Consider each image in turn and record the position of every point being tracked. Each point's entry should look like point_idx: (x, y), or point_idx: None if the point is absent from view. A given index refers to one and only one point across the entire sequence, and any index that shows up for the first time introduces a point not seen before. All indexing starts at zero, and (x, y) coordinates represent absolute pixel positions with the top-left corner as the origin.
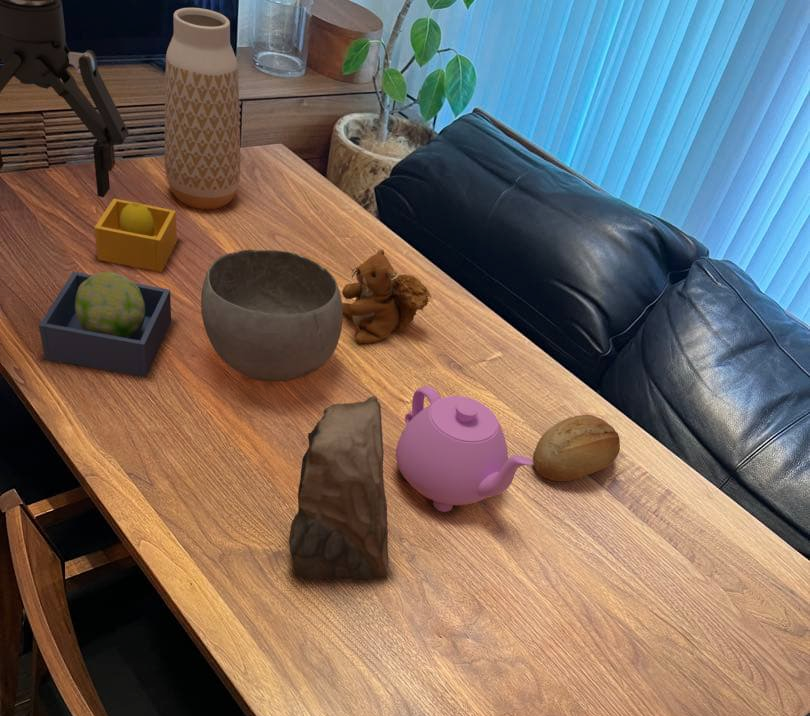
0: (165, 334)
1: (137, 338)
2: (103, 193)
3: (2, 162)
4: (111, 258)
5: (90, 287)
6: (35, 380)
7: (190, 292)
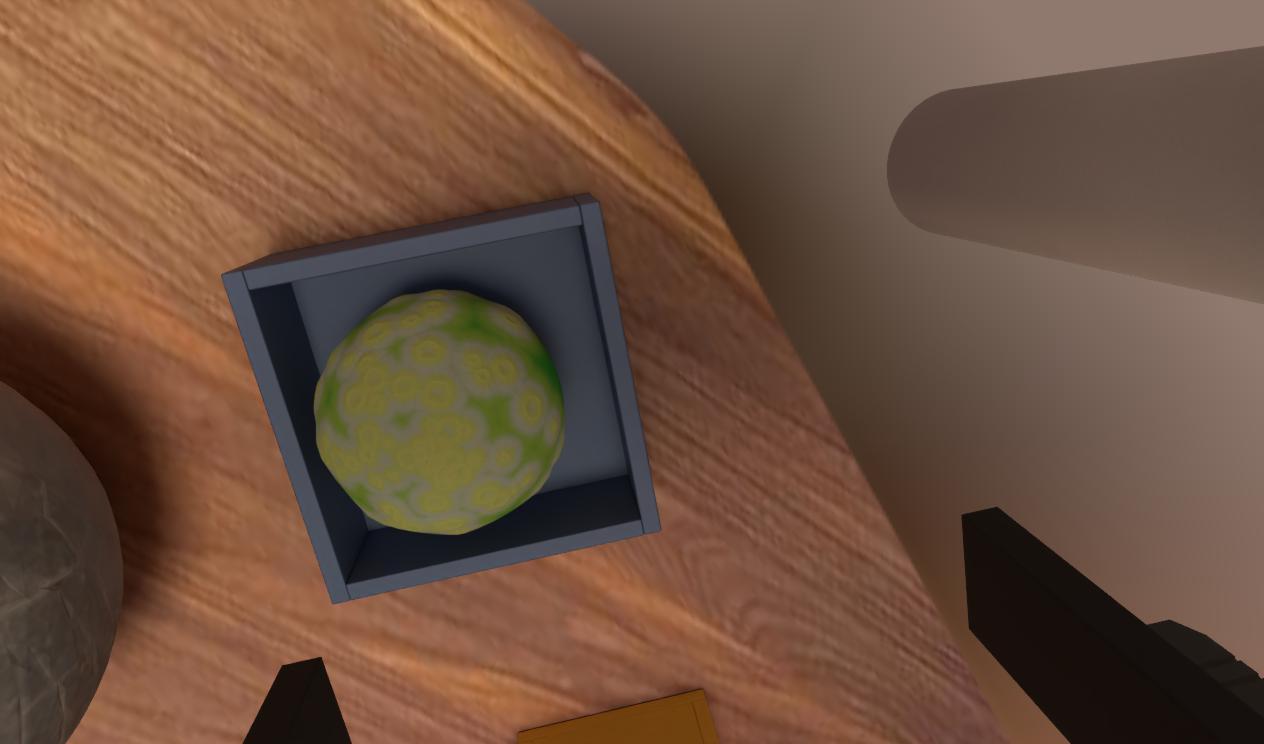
0: None
1: None
2: (273, 685)
3: (980, 638)
4: (664, 707)
5: (471, 388)
6: (558, 83)
7: (392, 693)
